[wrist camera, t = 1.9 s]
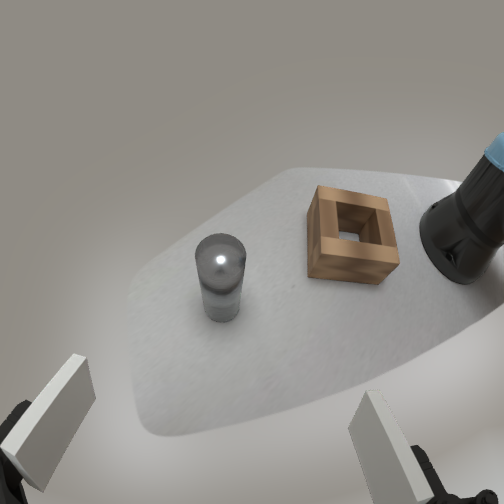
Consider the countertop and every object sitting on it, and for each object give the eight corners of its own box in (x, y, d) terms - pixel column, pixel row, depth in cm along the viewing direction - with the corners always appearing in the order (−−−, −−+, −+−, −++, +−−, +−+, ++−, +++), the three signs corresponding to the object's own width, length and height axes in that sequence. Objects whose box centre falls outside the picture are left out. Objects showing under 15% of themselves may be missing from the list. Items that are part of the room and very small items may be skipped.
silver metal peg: (240, 292, 34) (248, 236, 24) (237, 324, 32) (243, 281, 22) (207, 287, 34) (200, 230, 24) (201, 319, 32) (190, 274, 22)
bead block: (370, 223, 41) (386, 198, 36) (378, 284, 36) (399, 263, 31) (307, 213, 41) (317, 185, 36) (307, 277, 36) (321, 253, 31)
